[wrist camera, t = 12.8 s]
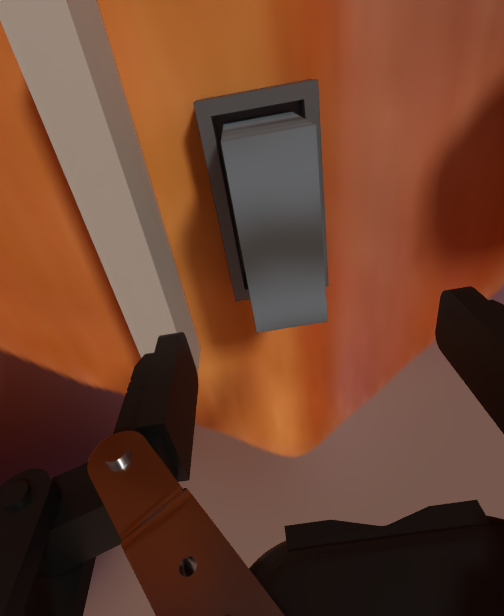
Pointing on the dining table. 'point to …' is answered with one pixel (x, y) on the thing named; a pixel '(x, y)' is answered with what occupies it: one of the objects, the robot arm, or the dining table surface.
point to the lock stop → (278, 216)
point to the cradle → (210, 123)
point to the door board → (101, 159)
